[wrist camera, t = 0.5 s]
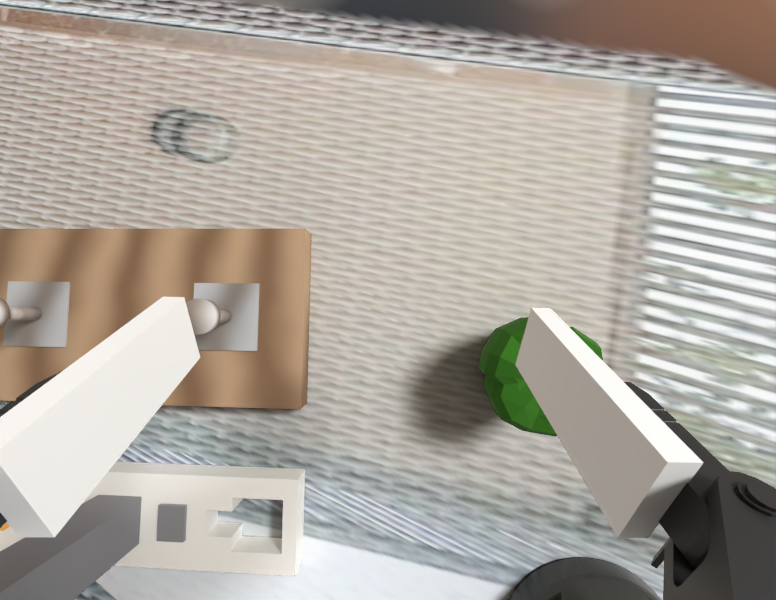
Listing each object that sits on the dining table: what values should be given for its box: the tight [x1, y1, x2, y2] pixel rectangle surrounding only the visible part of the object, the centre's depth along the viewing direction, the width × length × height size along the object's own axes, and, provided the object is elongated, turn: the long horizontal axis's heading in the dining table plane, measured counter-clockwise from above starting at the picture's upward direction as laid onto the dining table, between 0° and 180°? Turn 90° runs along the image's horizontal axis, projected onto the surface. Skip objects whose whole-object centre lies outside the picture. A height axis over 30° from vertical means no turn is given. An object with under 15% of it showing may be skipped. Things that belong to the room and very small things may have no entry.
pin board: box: [0, 229, 311, 409], centre depth 28 cm, size 32×16×6 cm, turn 89°
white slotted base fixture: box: [0, 462, 305, 600], centre depth 24 cm, size 28×8×12 cm, turn 89°
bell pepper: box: [479, 317, 603, 436], centre depth 24 cm, size 8×8×10 cm
